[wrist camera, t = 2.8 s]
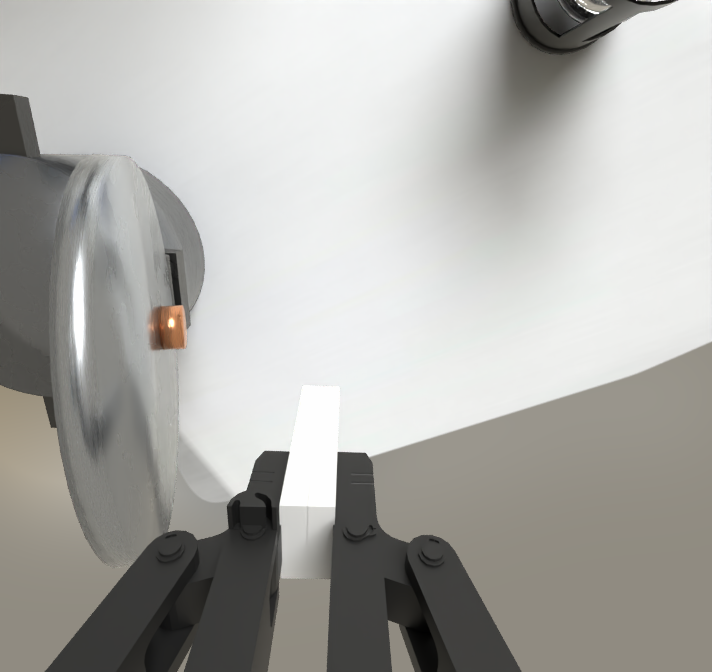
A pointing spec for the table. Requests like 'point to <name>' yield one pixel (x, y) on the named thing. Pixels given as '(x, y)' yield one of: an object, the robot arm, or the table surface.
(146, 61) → the table surface
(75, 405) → the lid
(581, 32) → the french press
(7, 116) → the pot
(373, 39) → the table surface
